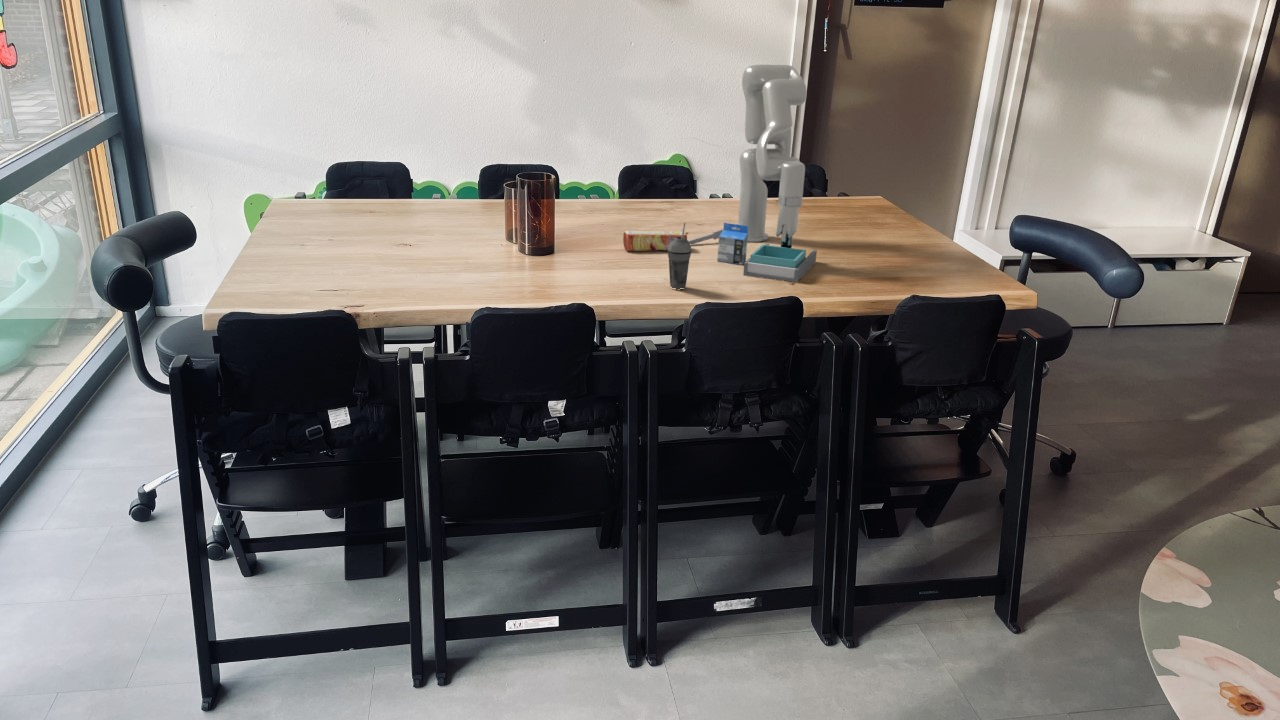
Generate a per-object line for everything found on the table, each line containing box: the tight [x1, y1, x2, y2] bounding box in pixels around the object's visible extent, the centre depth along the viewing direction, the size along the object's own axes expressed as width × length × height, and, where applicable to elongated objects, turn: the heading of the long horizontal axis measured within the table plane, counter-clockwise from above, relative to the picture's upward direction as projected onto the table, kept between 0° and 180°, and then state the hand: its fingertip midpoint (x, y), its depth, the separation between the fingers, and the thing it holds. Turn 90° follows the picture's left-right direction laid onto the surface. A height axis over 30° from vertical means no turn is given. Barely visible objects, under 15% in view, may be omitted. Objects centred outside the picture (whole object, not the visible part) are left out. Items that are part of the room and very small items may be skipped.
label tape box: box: [716, 222, 748, 266], centre depth 325 cm, size 9×4×12 cm, turn 62°
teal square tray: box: [749, 244, 807, 268], centre depth 316 cm, size 14×14×5 cm
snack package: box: [622, 230, 688, 252], centre depth 337 cm, size 21×7×7 cm, turn 99°
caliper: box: [687, 228, 724, 245], centre depth 347 cm, size 20×1×6 cm, turn 116°
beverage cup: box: [666, 222, 692, 289], centre depth 295 cm, size 7×7×20 cm
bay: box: [742, 243, 818, 283], centre depth 321 cm, size 17×26×4 cm, turn 158°
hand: (785, 256), depth 325 cm, fingers closed
